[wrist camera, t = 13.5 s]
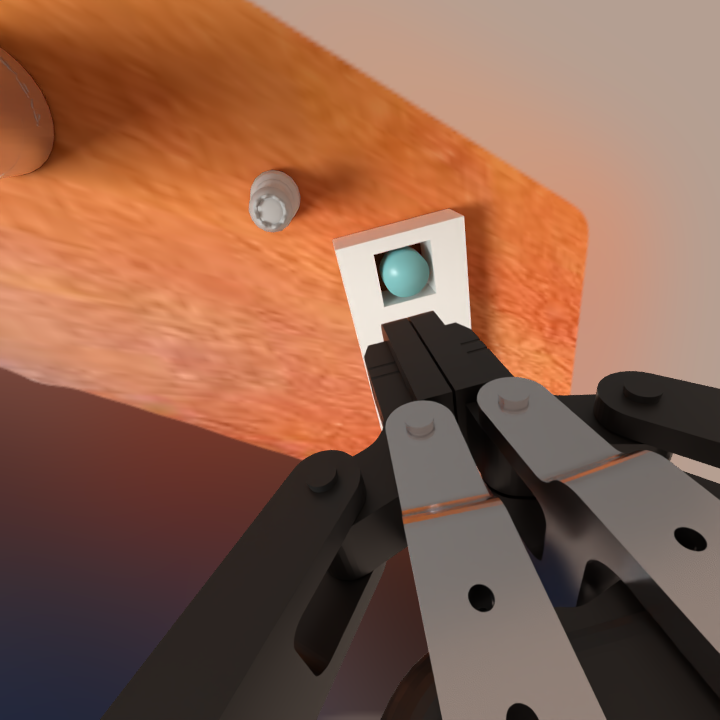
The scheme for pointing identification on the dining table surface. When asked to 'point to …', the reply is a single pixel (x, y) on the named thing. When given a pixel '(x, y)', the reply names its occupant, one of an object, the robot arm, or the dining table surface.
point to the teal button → (404, 271)
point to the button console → (440, 294)
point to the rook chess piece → (273, 200)
